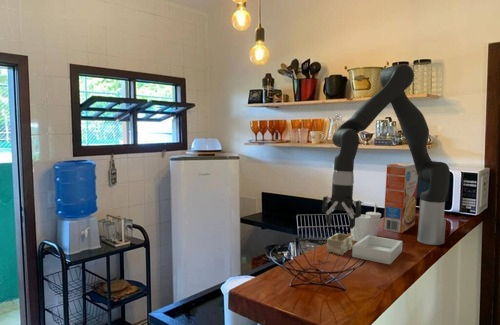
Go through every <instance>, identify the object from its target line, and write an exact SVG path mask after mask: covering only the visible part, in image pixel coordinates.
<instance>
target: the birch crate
mask: <svg viewBox="0 0 500 325" xmlns="http://www.w3.org/2000/svg"><path fill="white" fill-rule="evenodd" d="M351 247H352V248H353V236H352V235H351V234H345V233H339V232H337V233H335V234H334V235H332V236H330V237H328V238H327V239H326V253H329V252H333V253H332V254H334V253H337V254H336V255H339V254H340V255H339V256H343V255H344V253H345V252H346V253H347V252H349V251H350V250H352V248H351ZM348 250H349V251H348ZM327 251H328V252H327ZM346 253H345V254H346Z"/></svg>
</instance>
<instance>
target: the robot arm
mask: <svg viewBox="0 0 500 325" xmlns="http://www.w3.org/2000/svg"><path fill="white" fill-rule="evenodd" d="M414 77H415V73H414V70H413V68H412V67H411V66H410V65H408V64H397V65H396V64H395V65H391V66H388V67H385V68H383V69H382V71H381V72H380V75H379V80H380V85H381V87H382V88H381V89H380V90H379V91H378V92H377V93H375V94H374V95H373V96H371V97H370V98H369V99H367V100H366V101H364V102H363V103H362V104H361V105H360V106H359V108H358V109H357V110H356V111H355V112H354V113H353V115H351V117H350V118H348V119H347V120H345V122H343V123H342V124H340V125H339V127H337V128H336V130H335V131H334V132H333V135H332V140H331V141H332V143H333V145H334V146H335V147H336V148H340V150H339V154H336V155H335V157H334V162H333V163H334V164H333V172H332V173H333V174H332V181H331V183H332V186H331V197H330V196H328V195H325V196H324V197H323V198H322V205H321V212H322V213H324V214H326V215H325V216H326V217H325V218H326V219H325V222H326V224H327V226H328V225H329V226H331V225H332V220H333V219H332V217H333V214H332V213H333V212H334V211H335V210H336V211H343V212H345V211H346V213H347V214H348V215H349V217H350V218H349V227H348V228H349V229H350V230H351V229H352V228H353V227H354V226H355V218H358V217H360V216H361V214H362V201H361V200H353V195H354V182H355V180H354V177H355V176H354V167H355V166H354V165H355V164H354V163H355V159H356V155H357V151H358V149H359V145H360V136H359V133H361V132H363V131H366V129H368V128H369V126H370V125H371V124H372V123H373V122H374V121H375V119H376V118H377V117H378V116H379V115H380V114H381V113H382V111H384V110H385V109H386V107H387V106H388V105H391V106H392V108H393V111H394V113H395V117H396V118H397V121H398V122H399V126H400V129H401V132H402V133H403V136H404V138H405V140H406V143H407V147H408V149H409V150H410V154H411V158H412V161H413V163H414V164H415V168H416V172H417V175H418V178H419V180H420V181H421V182H423V183H426V184H429V188H428V190H426V191H422V192H421V193H420V196H419V197H420V198H419V208H418V209H419V212H418V226H417V241H418V242H419V243H421V244H425V245H430V246H440V245H443V244H445V238H446V225H447V224H446V223H447V222H446V219H445V206H446V198H447V195H448V193H449V184H450V179H451V177H450V176H451V174H450V173H451V171H450V167H449V166H448V164H447V163H445V162H442V161H437V160H436V161H435V160H432V159H431V157H430V155H429V152H428V141H429V137H430V129H429V126H428V124H427V121H426V119H425V116H424V114H423V113H422V112H421V110H420V109H419V108H418V107H417V106H416V105H415V104H414V103H413V102H412V101H411V100H410V99H409V98H408V96H407V94H406V92H405V91H406V90H407V89H408V88H409V87H410V86H411V85H412V83H413V81H414V79H415V78H414ZM329 203H331V204H332V205H331V206H330V207H329V206H328V205H329ZM353 205H354V207H355V212H354V208H352V206H353ZM328 207H329V209H328Z"/></svg>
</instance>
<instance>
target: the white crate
mask: <svg viewBox="0 0 500 325" xmlns="http://www.w3.org/2000/svg"><path fill="white" fill-rule="evenodd" d="M351 250H352V252H351V257H353V258H357V259H363V260H366V261H371V262H377V263H381V264H385V265H391V264H392V263H393V262H394V261H395V260H396V259H397V258H398V257H399V256H400V254H401V253H402V252H403V240H400V239H399V240H397V239H392V238H386V237H382V236H370V235H367V236H366V237H364V238H363V239H361V240H360V241H359V242H355V243H354V244H352V248H351Z"/></svg>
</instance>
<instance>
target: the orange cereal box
mask: <svg viewBox="0 0 500 325" xmlns="http://www.w3.org/2000/svg"><path fill="white" fill-rule="evenodd" d="M418 178H419V177H418V175H417V172H416V168H415V164H414V162H413V163H412V162H396V163H390V164H386V176H385V193H384V194H385V196H384V209H383V212H384V213H383V228H382V231H386V232H393V233H397V234H403V233H404V232H405V231H407V230H409V229H410V228H411V227H413V226H415V223H416V222H415V221H416V209H417V207H416V206H417V197H418V196H417V193H418V181H419V180H418Z"/></svg>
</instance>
